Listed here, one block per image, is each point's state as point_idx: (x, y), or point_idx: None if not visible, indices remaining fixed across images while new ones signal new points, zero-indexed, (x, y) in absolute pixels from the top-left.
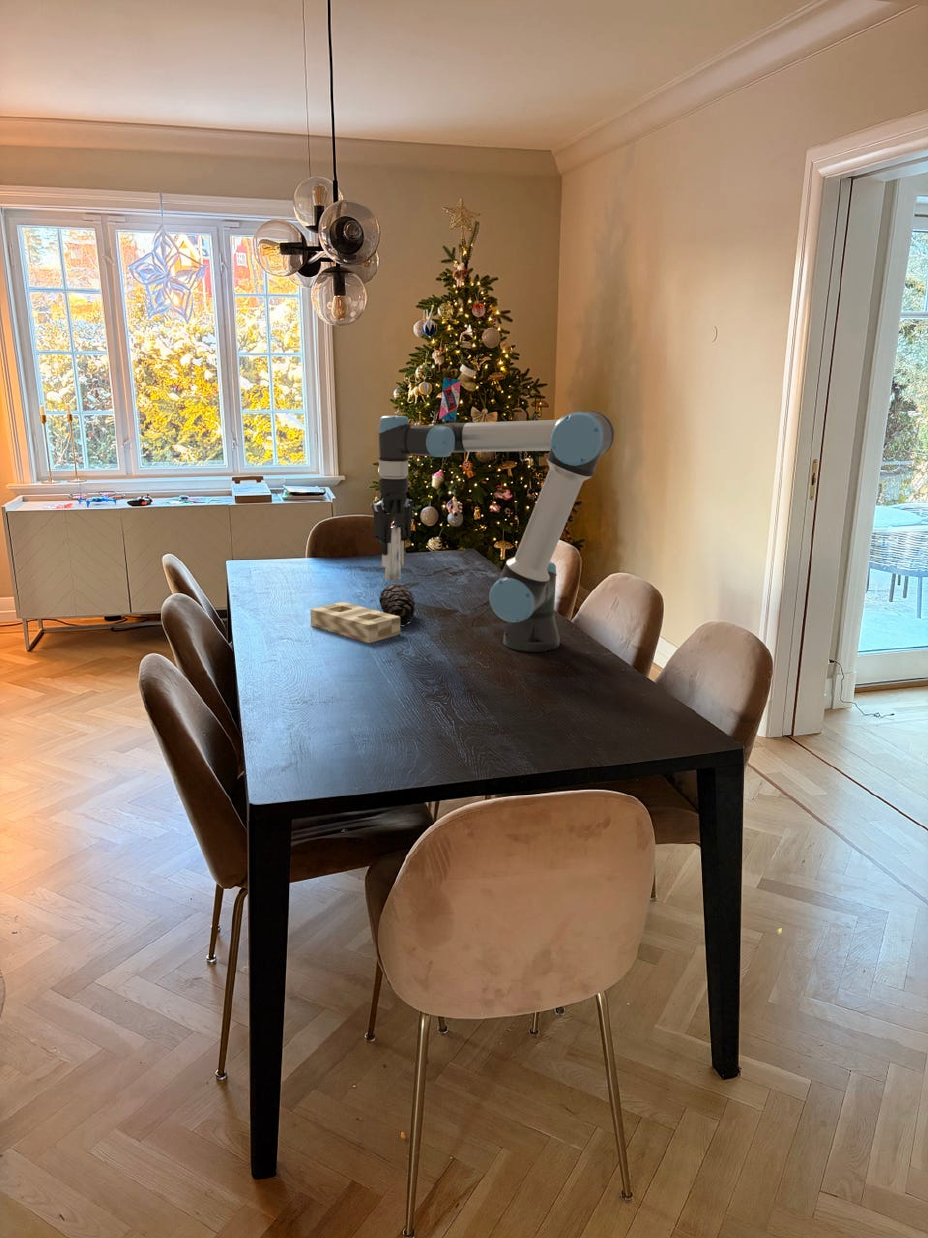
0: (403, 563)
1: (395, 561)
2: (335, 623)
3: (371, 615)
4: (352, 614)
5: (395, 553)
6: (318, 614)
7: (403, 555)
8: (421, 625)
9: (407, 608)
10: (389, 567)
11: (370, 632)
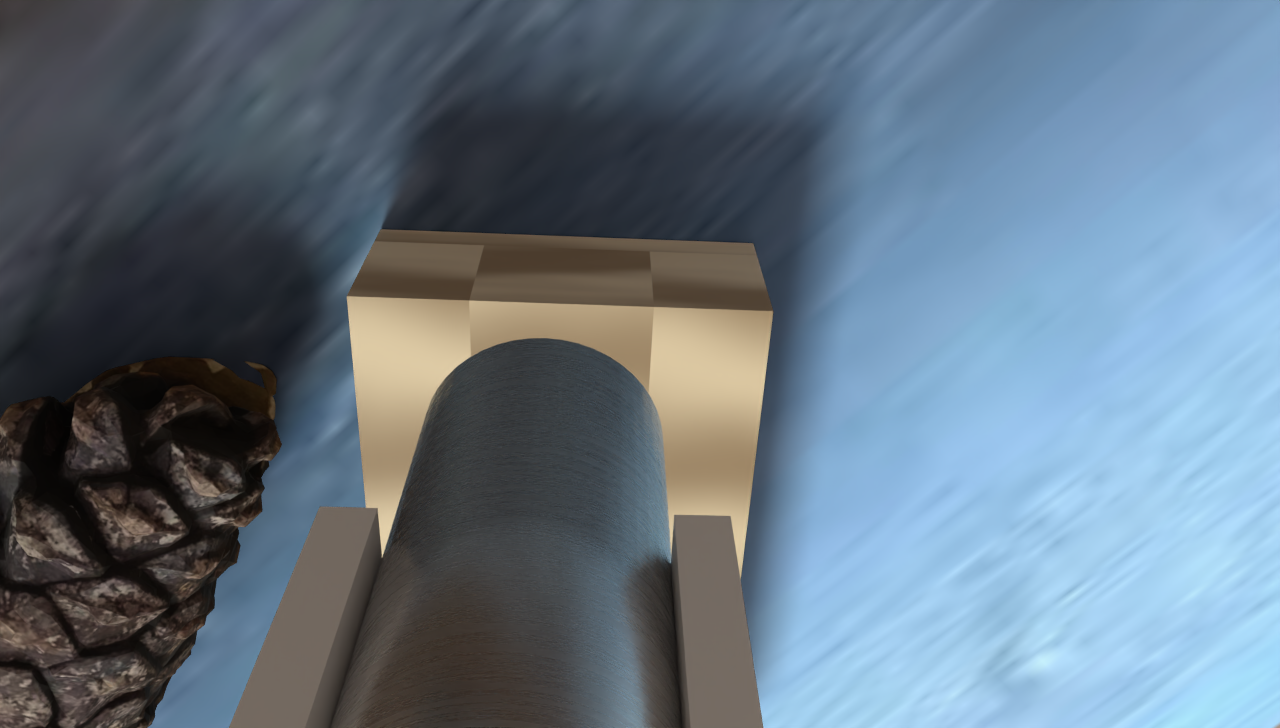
0: (316, 524)
1: (592, 556)
2: None
3: None
4: None
5: (590, 692)
6: None
7: (270, 645)
8: (56, 271)
9: (119, 413)
10: (725, 519)
11: (742, 279)
